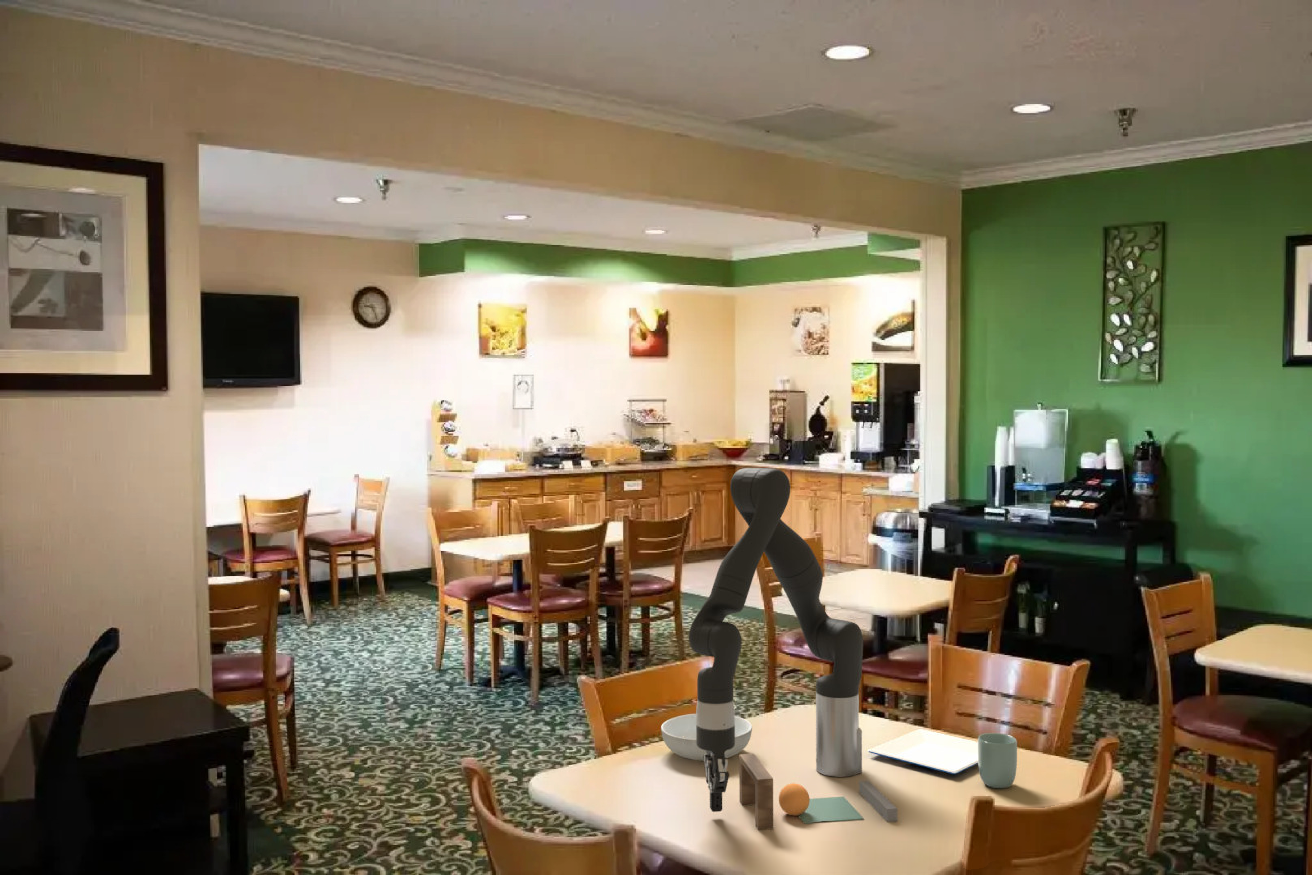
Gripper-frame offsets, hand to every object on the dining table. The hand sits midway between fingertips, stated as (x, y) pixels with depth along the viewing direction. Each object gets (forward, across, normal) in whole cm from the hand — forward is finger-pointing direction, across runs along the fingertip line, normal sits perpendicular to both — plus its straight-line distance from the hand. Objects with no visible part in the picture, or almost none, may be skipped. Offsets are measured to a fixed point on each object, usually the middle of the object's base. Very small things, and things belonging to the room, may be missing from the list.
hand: (716, 809), depth 217 cm
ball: (-2, -1, -15) cm, 16 cm away
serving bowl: (+2, +38, -6) cm, 39 cm away
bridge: (+2, 0, -8) cm, 8 cm away
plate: (+2, +27, -57) cm, 63 cm away
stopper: (+2, 0, -33) cm, 33 cm away
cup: (+2, +7, -62) cm, 62 cm away
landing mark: (+2, 0, -22) cm, 22 cm away
